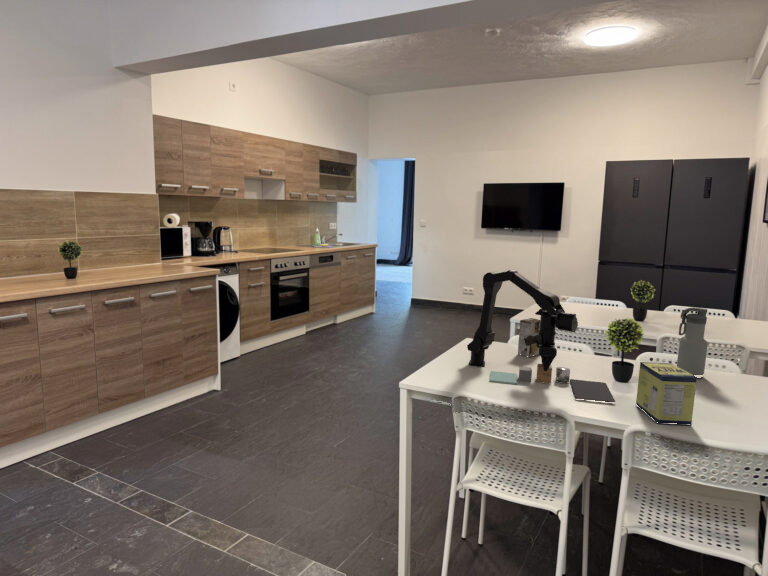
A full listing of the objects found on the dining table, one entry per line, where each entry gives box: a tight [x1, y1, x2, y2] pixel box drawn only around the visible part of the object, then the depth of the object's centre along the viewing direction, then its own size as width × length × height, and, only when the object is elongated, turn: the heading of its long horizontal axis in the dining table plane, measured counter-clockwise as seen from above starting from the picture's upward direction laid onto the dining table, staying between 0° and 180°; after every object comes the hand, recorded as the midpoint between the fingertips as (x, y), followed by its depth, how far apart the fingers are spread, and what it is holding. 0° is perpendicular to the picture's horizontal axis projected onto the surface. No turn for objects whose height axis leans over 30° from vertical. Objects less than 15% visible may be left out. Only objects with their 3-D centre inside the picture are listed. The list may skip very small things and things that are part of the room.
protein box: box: [635, 361, 698, 425], centre depth 161 cm, size 10×16×16 cm
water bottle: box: [676, 306, 709, 375], centre depth 204 cm, size 10×10×28 cm
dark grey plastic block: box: [518, 366, 533, 383], centre depth 193 cm, size 4×4×4 cm
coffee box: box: [517, 317, 540, 358], centre depth 229 cm, size 9×6×16 cm
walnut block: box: [536, 363, 553, 384], centre depth 193 cm, size 5×5×6 cm
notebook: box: [569, 378, 616, 403], centre depth 182 cm, size 13×2×21 cm
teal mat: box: [489, 370, 518, 385], centre depth 195 cm, size 12×10×1 cm
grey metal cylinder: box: [554, 366, 571, 384], centre depth 193 cm, size 5×5×5 cm
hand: (544, 367), depth 192 cm, fingers open, 9 cm apart
